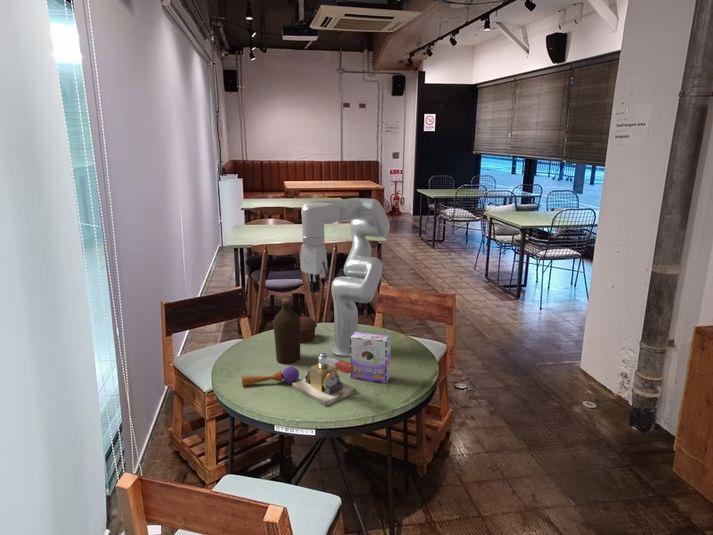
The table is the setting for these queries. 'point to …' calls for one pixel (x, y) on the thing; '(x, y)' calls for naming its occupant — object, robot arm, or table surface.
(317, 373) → the pipe and valve body
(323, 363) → the lever
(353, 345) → the candy box
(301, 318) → the muffin
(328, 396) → the mounting board
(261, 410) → the table surface
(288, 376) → the kendama
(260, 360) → the table surface
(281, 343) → the olive oil
